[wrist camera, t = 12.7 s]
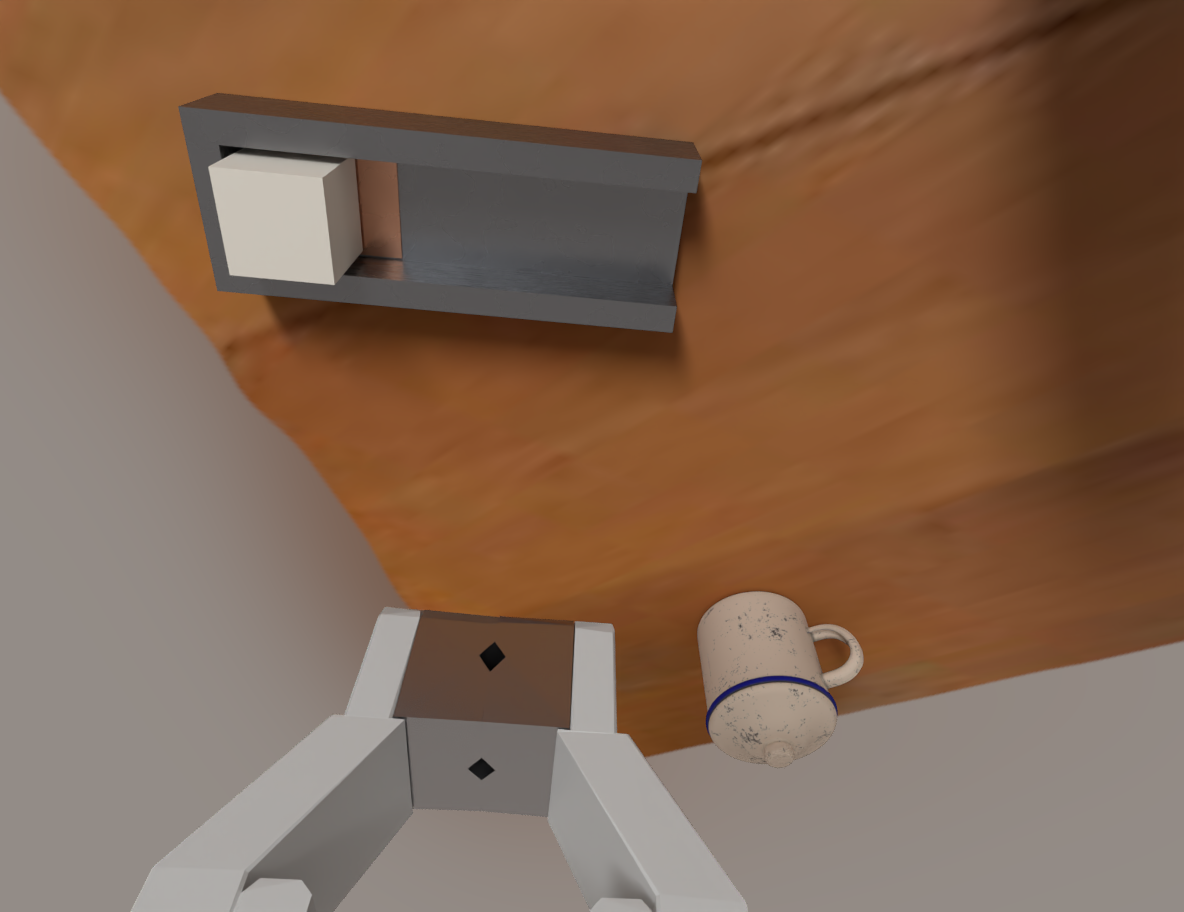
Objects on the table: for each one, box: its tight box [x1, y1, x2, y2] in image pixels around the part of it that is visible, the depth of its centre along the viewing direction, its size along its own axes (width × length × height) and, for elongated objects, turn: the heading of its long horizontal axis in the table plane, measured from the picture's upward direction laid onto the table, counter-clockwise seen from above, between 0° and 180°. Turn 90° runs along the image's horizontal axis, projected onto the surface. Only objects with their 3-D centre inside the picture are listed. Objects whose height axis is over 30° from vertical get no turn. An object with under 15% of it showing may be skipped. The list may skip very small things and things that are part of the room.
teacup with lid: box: [697, 591, 863, 768], centre depth 52 cm, size 12×9×12 cm
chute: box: [178, 93, 702, 333], centre depth 37 cm, size 24×9×4 cm, turn 85°
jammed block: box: [208, 148, 363, 285], centre depth 35 cm, size 5×5×5 cm
